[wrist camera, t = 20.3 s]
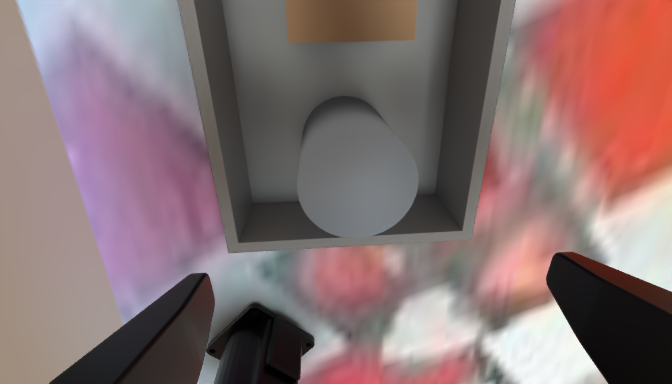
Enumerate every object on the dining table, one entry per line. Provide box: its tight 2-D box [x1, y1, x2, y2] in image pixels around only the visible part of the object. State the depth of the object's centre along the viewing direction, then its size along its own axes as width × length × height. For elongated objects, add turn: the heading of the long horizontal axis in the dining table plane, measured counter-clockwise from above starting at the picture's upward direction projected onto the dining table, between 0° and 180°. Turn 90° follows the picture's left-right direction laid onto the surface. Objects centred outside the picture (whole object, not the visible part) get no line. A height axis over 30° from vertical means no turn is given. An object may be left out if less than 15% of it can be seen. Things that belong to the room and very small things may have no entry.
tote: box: [178, 0, 516, 253], centre depth 16 cm, size 17×13×5 cm
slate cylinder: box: [297, 96, 418, 238], centre depth 17 cm, size 5×5×7 cm
